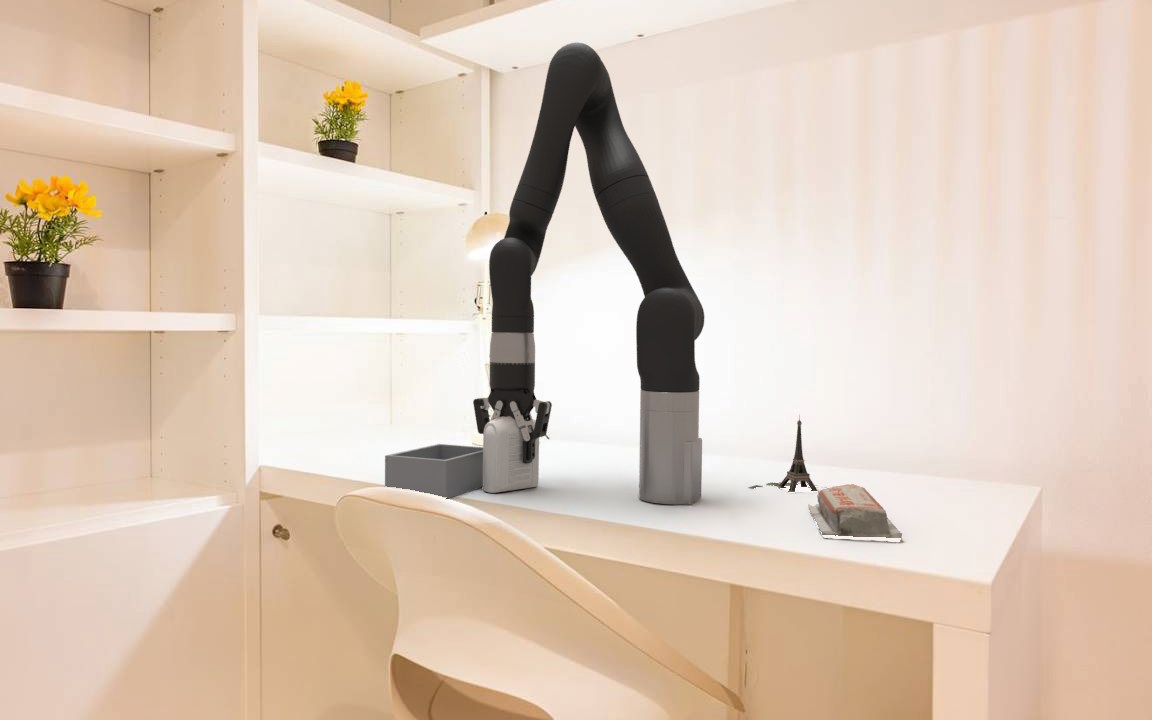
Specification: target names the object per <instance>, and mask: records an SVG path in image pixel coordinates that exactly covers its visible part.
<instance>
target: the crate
mask: <svg viewBox="0 0 1152 720" xmlns="http://www.w3.org/2000/svg"><path fill="white" fill-rule="evenodd" d="M385 486H387V487H396V488H402V489H410V490H415V491H419V492H424V493H430V494H434V495H438V496H442V497H447V498H448V499H450V498H454V497H456V496H459V495H462V494H466V493H468V492H471V491H475V490H477V489H480V488H483V446H470V445H457V444H445V443H437V444H433V445H432V444H431V445H428V446H423V447H419V448H415V449H409V450H405V451H401V452H395V453H390V454H386V455H384V487H385Z"/></svg>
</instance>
